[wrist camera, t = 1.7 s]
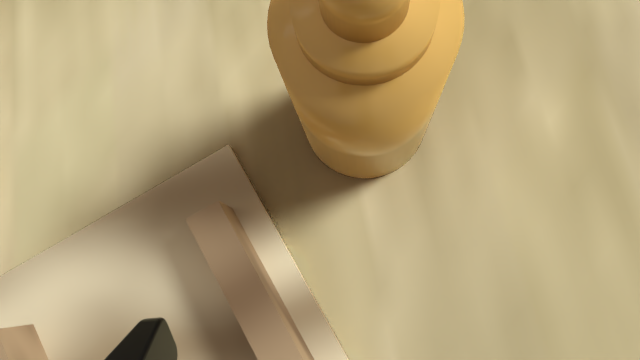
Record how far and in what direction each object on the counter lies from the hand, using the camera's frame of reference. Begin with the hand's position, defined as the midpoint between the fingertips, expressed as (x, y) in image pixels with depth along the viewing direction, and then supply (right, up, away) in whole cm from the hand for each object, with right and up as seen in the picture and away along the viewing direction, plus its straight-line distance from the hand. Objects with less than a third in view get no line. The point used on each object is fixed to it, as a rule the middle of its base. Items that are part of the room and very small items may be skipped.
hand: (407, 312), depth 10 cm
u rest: (-8, -6, +13) cm, 17 cm away
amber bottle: (0, +5, +15) cm, 16 cm away
